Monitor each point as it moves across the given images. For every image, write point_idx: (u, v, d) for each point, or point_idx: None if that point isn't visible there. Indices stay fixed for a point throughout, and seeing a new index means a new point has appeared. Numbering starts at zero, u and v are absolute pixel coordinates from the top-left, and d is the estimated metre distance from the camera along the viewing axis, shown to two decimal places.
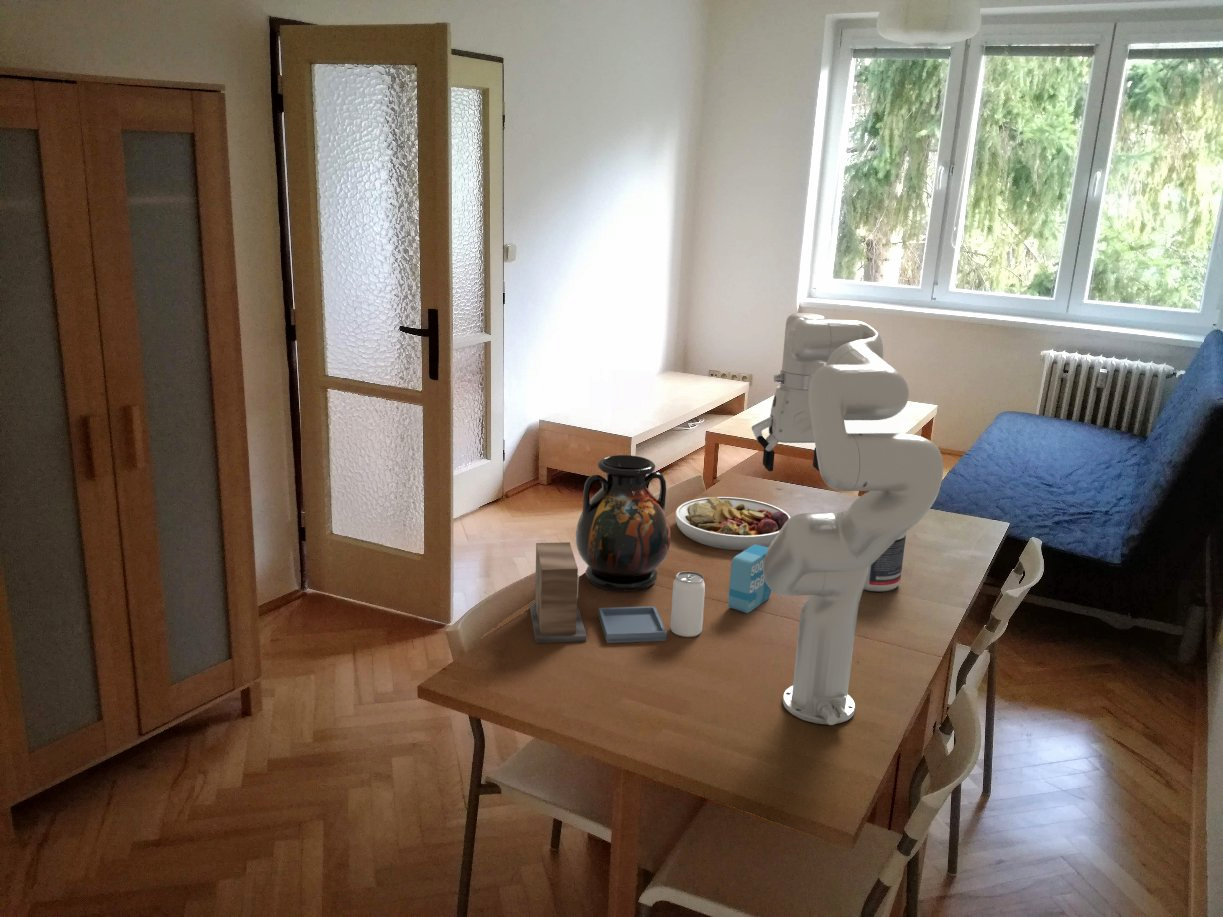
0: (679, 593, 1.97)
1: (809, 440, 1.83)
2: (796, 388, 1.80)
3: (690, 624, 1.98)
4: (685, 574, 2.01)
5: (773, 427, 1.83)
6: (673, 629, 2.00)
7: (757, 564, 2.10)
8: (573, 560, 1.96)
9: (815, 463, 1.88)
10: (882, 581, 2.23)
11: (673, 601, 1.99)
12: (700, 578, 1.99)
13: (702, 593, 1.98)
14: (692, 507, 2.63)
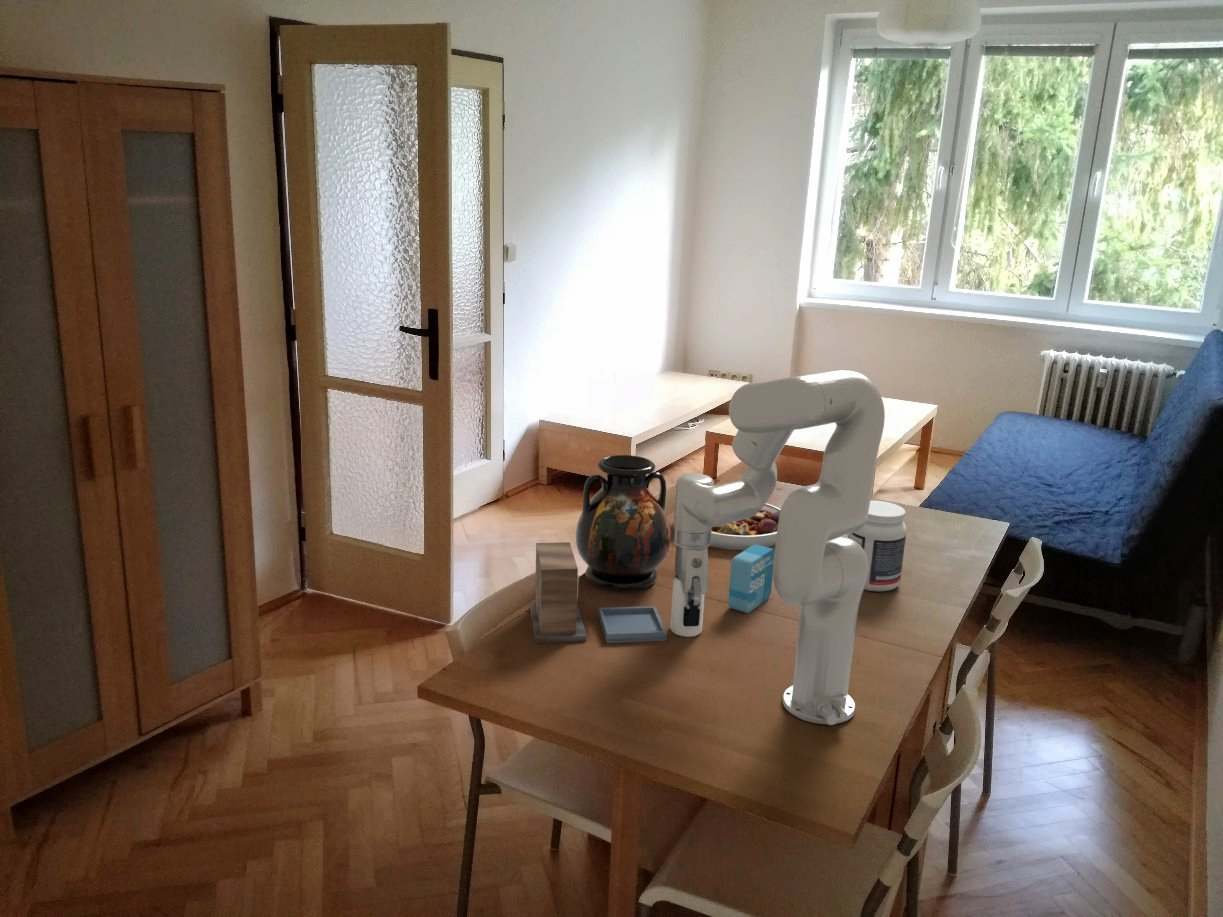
0: (679, 593, 1.97)
1: None
2: (709, 542, 1.95)
3: None
4: None
5: (702, 585, 1.94)
6: (673, 629, 2.00)
7: (757, 564, 2.10)
8: (573, 560, 1.96)
9: None
10: (882, 581, 2.23)
11: (673, 601, 1.99)
12: None
13: None
14: None
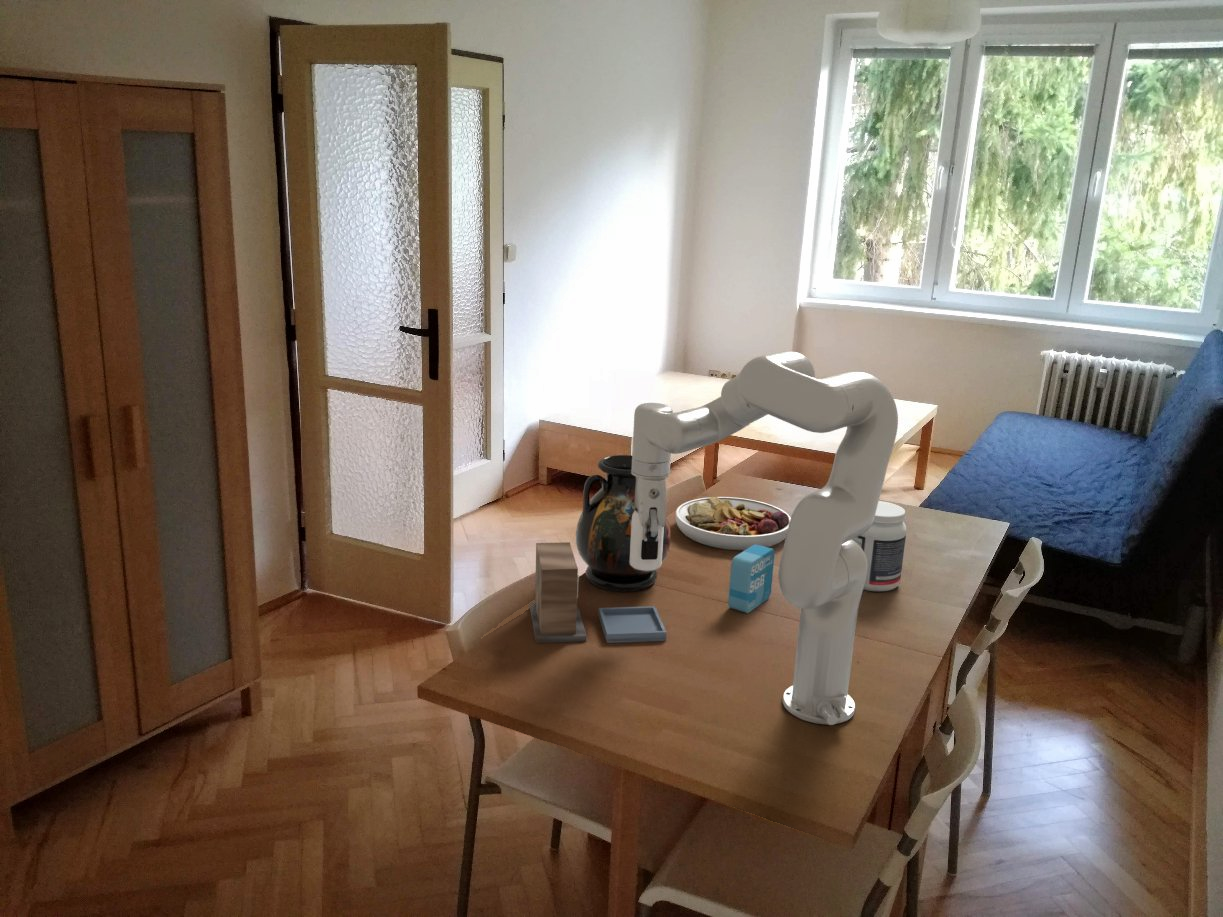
0: (637, 525, 1.93)
1: None
2: (668, 473, 1.91)
3: None
4: None
5: (660, 516, 1.90)
6: (631, 563, 1.97)
7: (757, 564, 2.10)
8: (573, 560, 1.96)
9: None
10: (882, 581, 2.23)
11: (632, 534, 1.95)
12: None
13: (661, 526, 1.94)
14: (692, 507, 2.63)
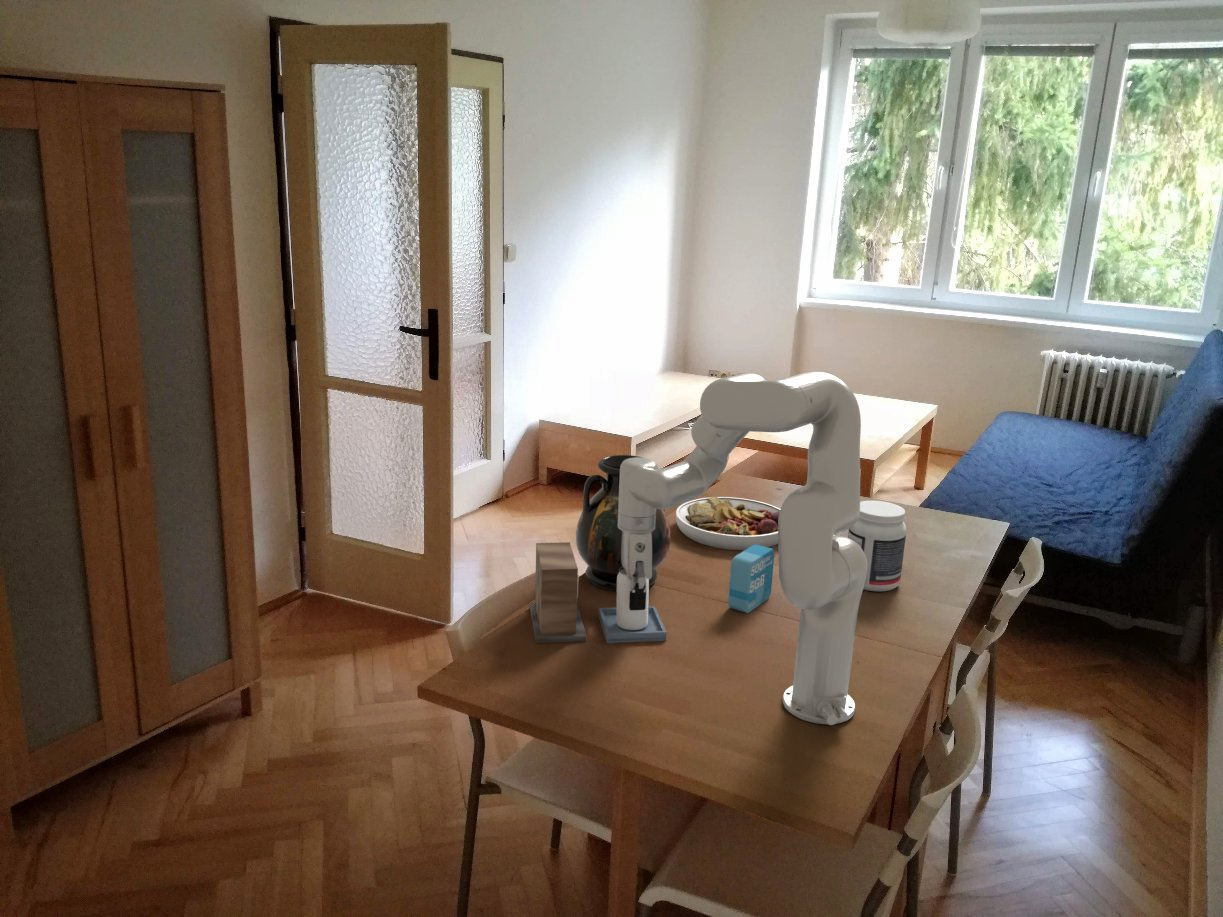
0: (622, 586, 1.97)
1: None
2: (654, 526, 1.94)
3: (635, 617, 1.98)
4: None
5: (646, 569, 1.93)
6: (618, 623, 2.00)
7: (757, 564, 2.10)
8: (573, 560, 1.96)
9: None
10: (882, 581, 2.23)
11: (617, 595, 1.99)
12: None
13: (646, 586, 1.98)
14: (692, 507, 2.63)
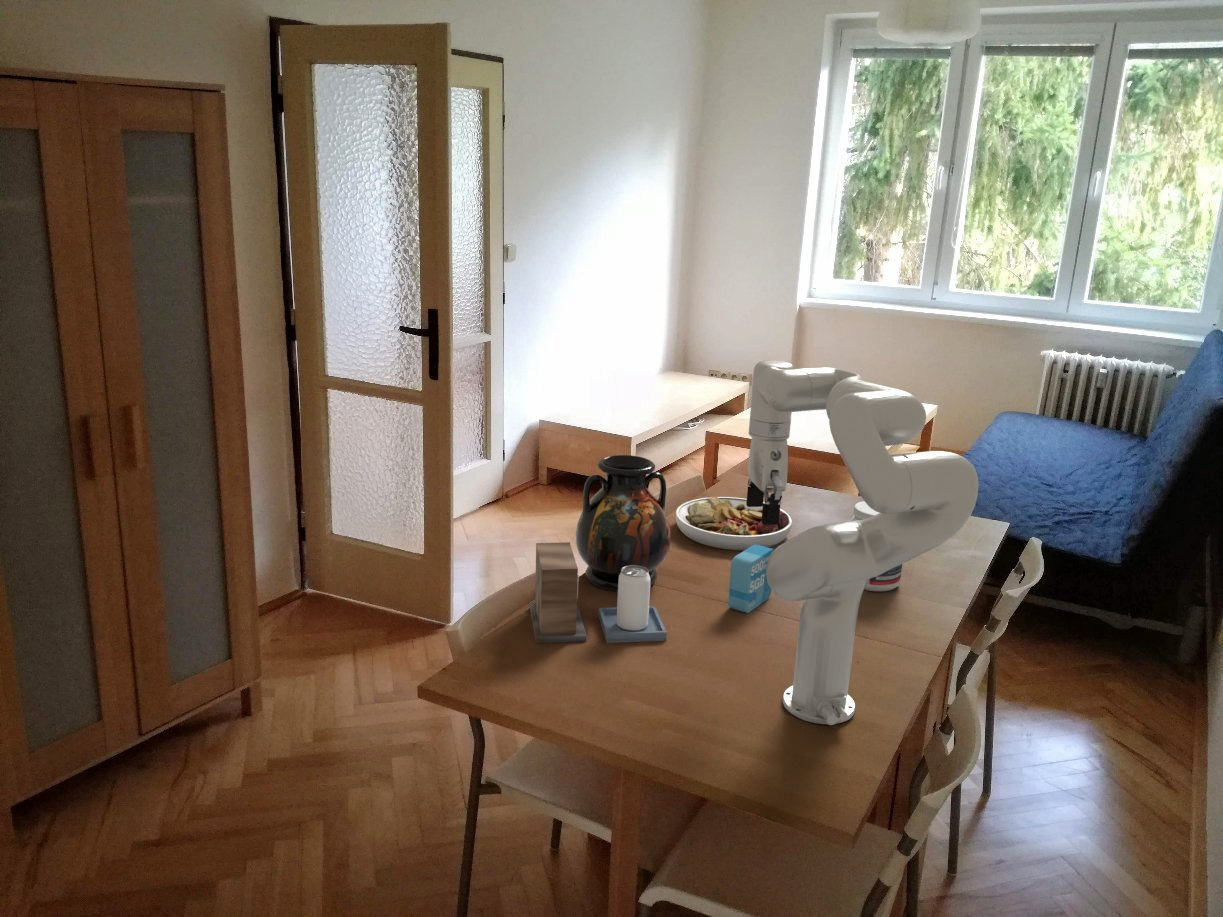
0: (624, 587, 1.97)
1: None
2: (789, 434, 1.81)
3: (635, 618, 1.98)
4: (631, 568, 2.00)
5: (781, 480, 1.80)
6: (618, 623, 2.00)
7: (757, 564, 2.10)
8: (573, 560, 1.96)
9: (754, 502, 1.91)
10: (882, 581, 2.23)
11: (618, 595, 1.99)
12: (645, 572, 1.99)
13: (647, 587, 1.98)
14: (692, 507, 2.63)
